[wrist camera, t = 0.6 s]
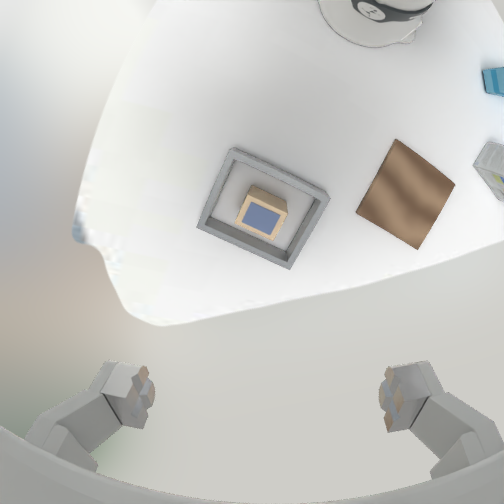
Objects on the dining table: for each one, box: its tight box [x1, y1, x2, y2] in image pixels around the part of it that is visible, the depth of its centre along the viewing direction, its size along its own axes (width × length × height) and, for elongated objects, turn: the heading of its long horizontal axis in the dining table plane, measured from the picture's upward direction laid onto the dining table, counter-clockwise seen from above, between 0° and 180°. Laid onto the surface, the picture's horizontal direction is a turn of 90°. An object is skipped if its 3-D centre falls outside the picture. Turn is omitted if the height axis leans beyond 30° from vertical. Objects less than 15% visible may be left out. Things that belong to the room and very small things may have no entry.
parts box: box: [235, 185, 288, 241], centre depth 43 cm, size 4×6×7 cm
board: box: [356, 139, 455, 250], centre depth 43 cm, size 14×14×1 cm
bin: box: [196, 148, 331, 270], centre depth 45 cm, size 13×16×4 cm
